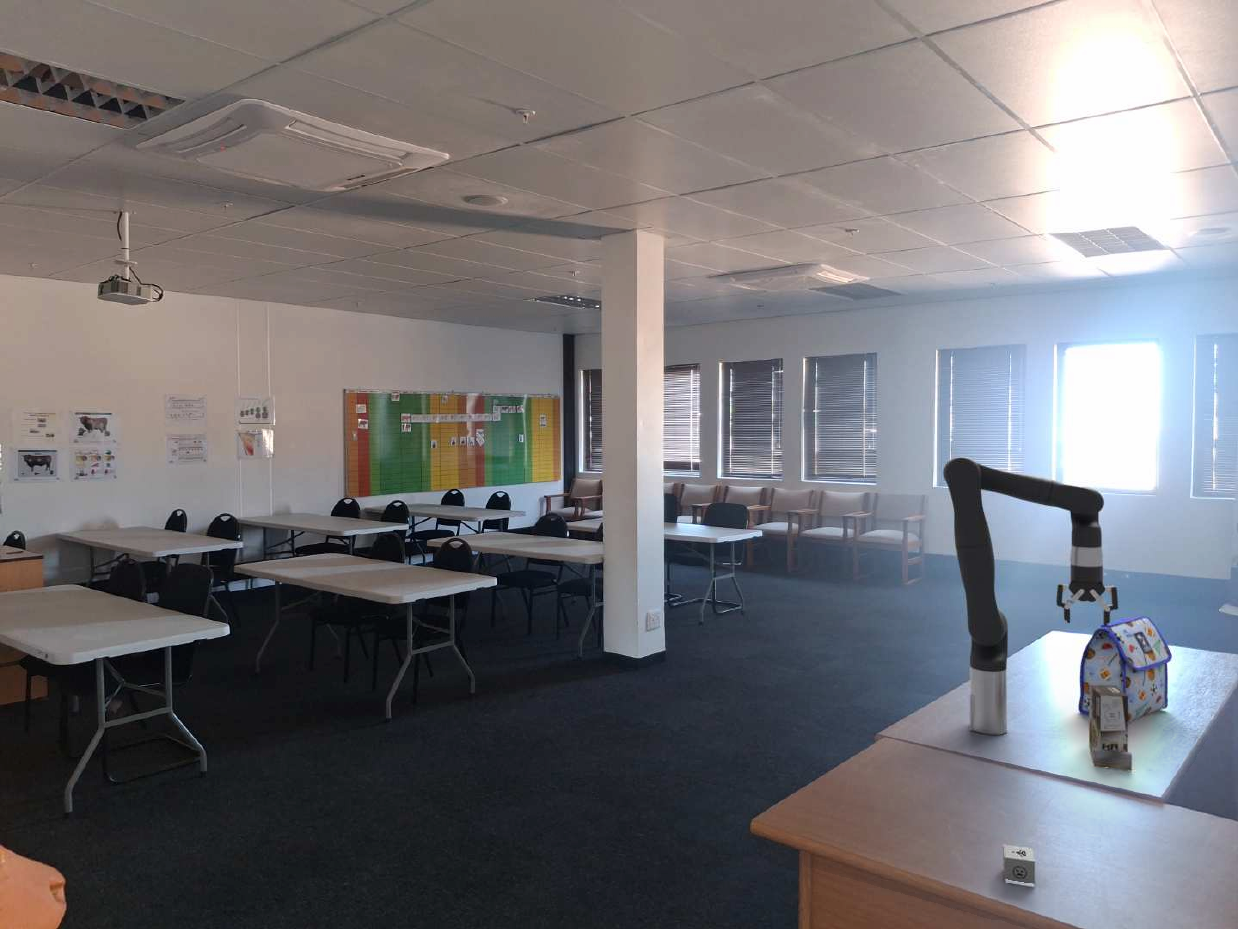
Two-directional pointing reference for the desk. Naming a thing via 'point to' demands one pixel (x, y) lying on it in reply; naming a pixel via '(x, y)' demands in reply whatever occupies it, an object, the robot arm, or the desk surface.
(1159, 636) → the lunch bag
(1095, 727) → the coffee box
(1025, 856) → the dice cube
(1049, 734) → the desk surface
